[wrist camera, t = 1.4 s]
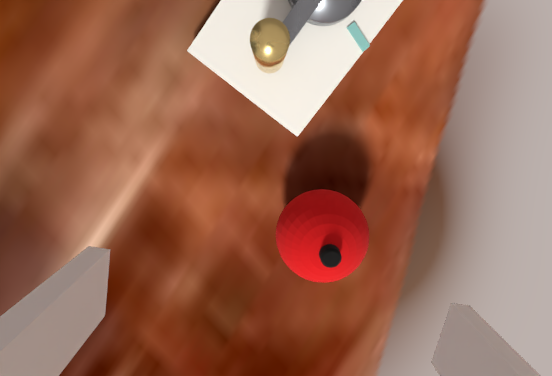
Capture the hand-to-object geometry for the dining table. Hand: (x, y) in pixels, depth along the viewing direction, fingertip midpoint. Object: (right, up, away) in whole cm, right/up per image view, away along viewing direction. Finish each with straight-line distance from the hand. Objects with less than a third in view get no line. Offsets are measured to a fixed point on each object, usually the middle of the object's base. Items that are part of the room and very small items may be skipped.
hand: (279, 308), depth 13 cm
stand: (+3, +22, +20) cm, 29 cm away
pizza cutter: (+2, +20, +18) cm, 27 cm away
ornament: (+4, +1, +25) cm, 25 cm away
